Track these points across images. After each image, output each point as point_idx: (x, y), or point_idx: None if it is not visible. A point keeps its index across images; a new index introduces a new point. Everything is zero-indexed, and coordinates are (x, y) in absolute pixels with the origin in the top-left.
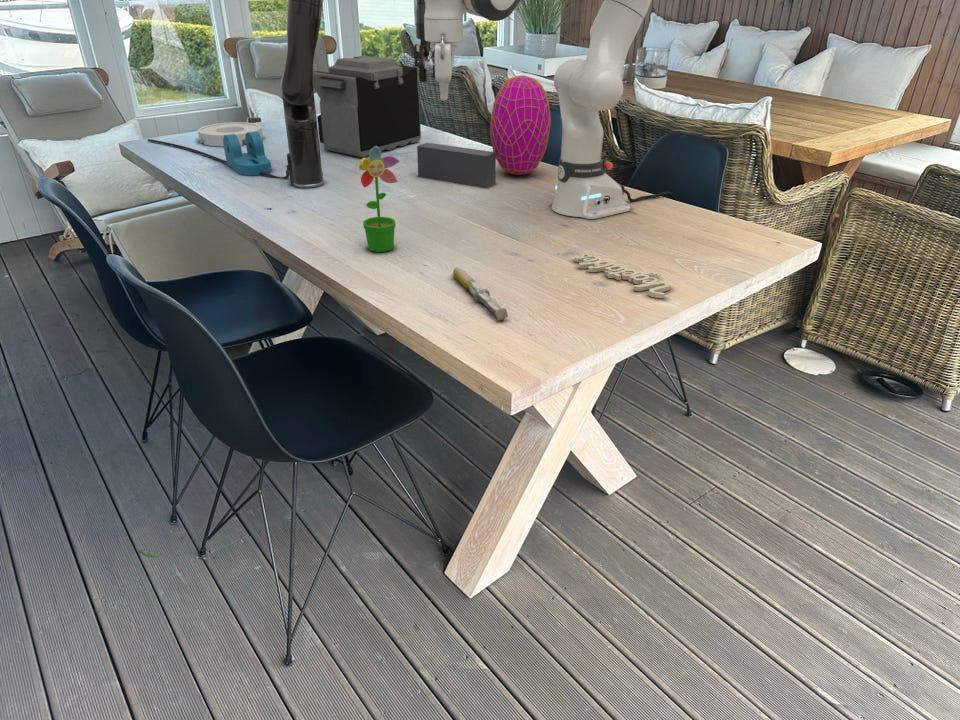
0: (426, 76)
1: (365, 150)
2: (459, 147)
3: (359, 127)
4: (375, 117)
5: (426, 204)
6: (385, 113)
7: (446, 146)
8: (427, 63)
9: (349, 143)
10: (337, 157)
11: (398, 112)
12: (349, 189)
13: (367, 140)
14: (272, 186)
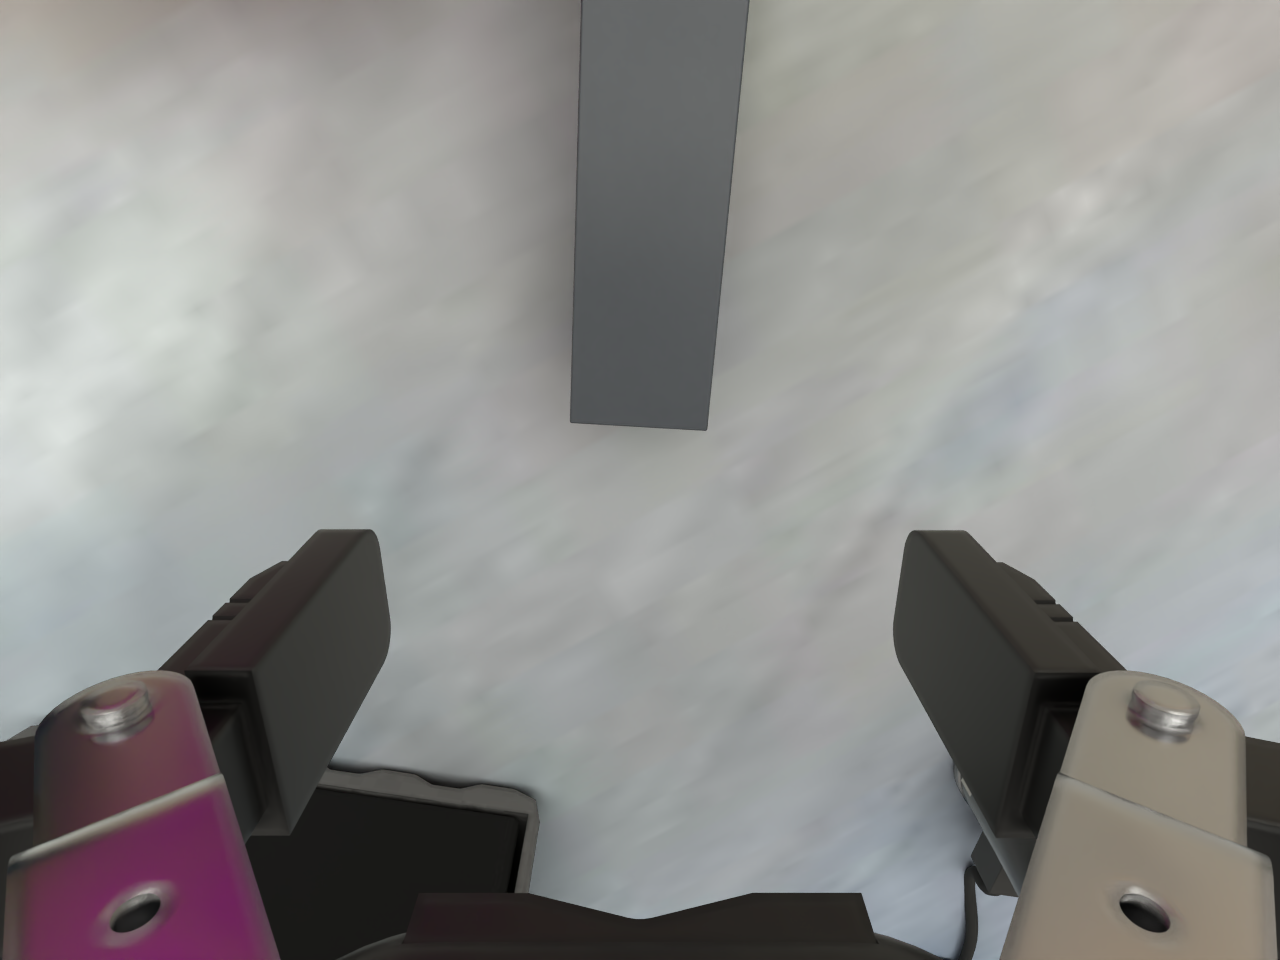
0: (967, 570)
1: (487, 811)
2: (594, 85)
3: None
4: (337, 948)
5: (1220, 29)
6: None
7: (615, 212)
8: (1066, 766)
9: None
10: (563, 879)
11: None
12: (1048, 567)
13: (459, 847)
14: None
